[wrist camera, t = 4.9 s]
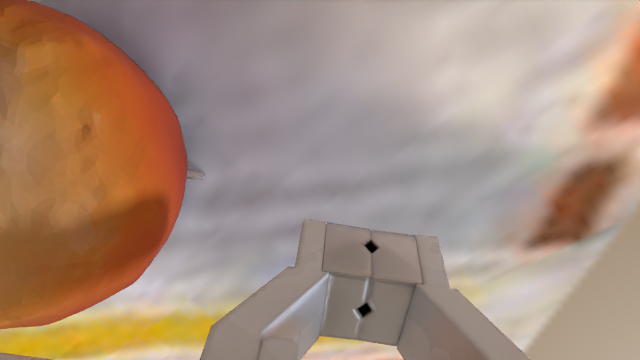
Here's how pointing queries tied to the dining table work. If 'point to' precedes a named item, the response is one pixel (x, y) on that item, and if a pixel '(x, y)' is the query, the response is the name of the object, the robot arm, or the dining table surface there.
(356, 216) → the dining table surface
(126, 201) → the fruit
